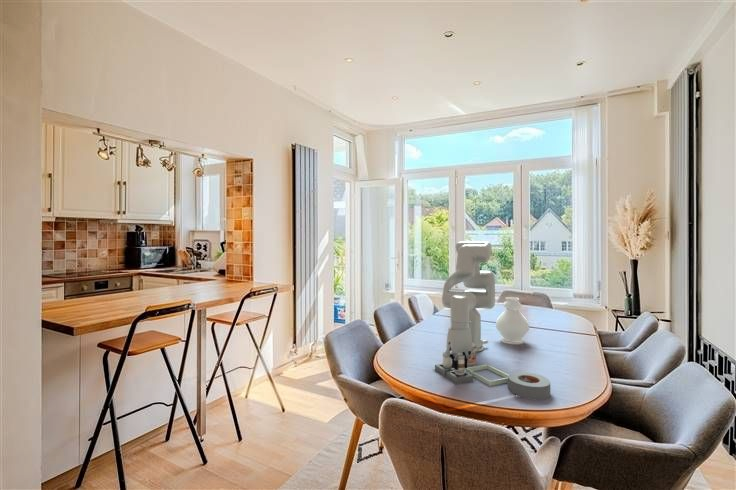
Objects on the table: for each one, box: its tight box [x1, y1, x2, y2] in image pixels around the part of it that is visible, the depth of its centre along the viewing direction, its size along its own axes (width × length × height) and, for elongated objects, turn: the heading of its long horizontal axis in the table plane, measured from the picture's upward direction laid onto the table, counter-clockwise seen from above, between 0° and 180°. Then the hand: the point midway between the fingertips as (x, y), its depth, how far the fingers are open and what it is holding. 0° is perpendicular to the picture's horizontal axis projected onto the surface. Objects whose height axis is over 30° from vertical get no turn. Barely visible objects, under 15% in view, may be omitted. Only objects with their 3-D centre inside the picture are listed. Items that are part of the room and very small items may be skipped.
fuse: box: [442, 351, 452, 369], centre depth 160 cm, size 4×4×8 cm
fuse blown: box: [455, 354, 465, 376], centre depth 152 cm, size 4×4×8 cm
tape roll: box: [507, 371, 551, 401], centre depth 141 cm, size 15×15×5 cm
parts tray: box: [464, 363, 509, 387], centre depth 154 cm, size 12×16×2 cm
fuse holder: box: [432, 362, 476, 386], centre depth 155 cm, size 18×10×3 cm, turn 22°
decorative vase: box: [495, 296, 530, 345], centre depth 207 cm, size 18×18×25 cm
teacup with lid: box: [458, 343, 477, 366], centre depth 173 cm, size 12×9×12 cm
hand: (459, 367), depth 152 cm, fingers closed on fuse blown, 3 cm apart
